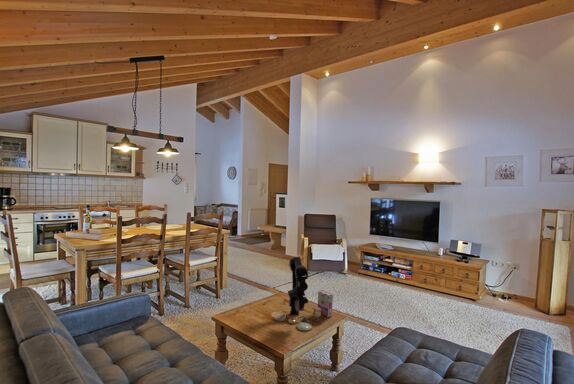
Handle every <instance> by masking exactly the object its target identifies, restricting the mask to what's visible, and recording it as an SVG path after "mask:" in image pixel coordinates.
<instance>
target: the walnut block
mask: <svg viewBox="0 0 574 384" xmlns="http://www.w3.org/2000/svg"><path fill="white" fill-rule="evenodd" d="M295 309H296V311H299V312H304V311H305V305H304V306H303V308H302V310H300V308H299V303H298V301H295Z"/></svg>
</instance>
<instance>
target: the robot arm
mask: <svg viewBox="0 0 574 384" xmlns="http://www.w3.org/2000/svg"><path fill="white" fill-rule="evenodd" d="M302 264H303V263H302V259H301V257H299V256H296V257H295V256H294V257H293V258H291V259H289V263H288V265H289V266H288V267H289V269H290V271H291V274H292V275H291V276H292V277H291V281H292V283H291V284H292V288H291V289H290V290H288V291H287V295H288V298H289V300H288V306H289V307H290V312H289V315H291V316H299V315H300V311H296V309H295V301H298V303H299V308H300V310H302V308H303V306H304V307H305V305H306V304H308V303H309V299H308V297H306V294H305V293H306V292H305V291H307V290H308V288H309V286H308V283H307V281H306V280H308V278H309V272H308V270H307V268H306V266H305V265H302Z"/></svg>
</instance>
